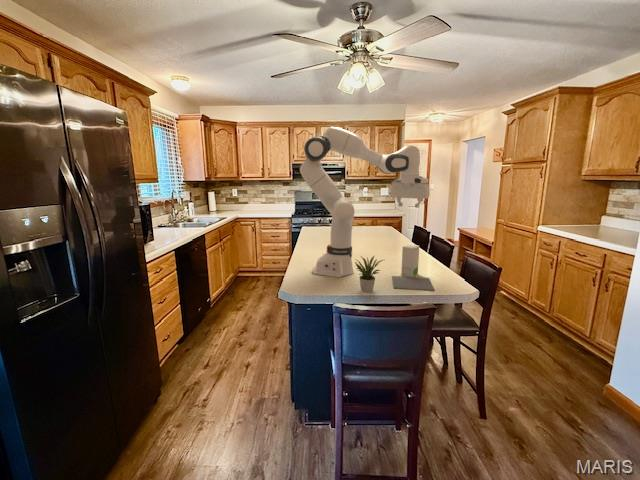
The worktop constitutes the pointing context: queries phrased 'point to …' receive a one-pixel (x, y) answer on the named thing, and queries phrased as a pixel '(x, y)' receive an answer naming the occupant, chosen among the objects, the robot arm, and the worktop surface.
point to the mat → (412, 283)
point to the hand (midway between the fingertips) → (408, 206)
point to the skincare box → (410, 260)
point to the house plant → (367, 275)
